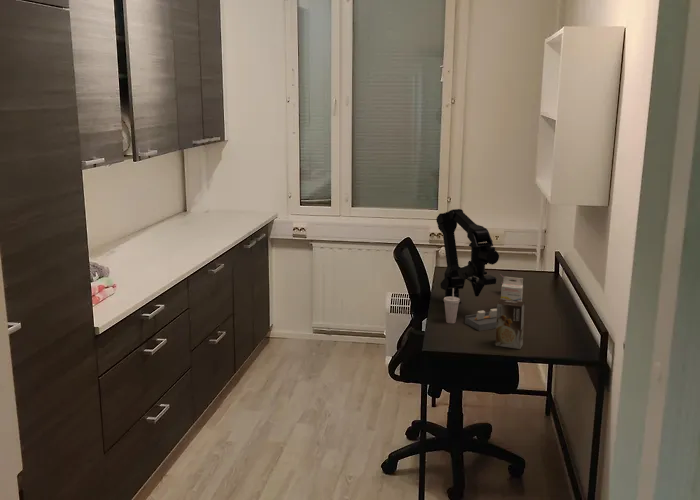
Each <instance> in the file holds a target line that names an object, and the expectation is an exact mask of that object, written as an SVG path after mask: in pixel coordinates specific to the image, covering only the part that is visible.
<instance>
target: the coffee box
mask: <svg viewBox="0 0 700 500" xmlns="http://www.w3.org/2000/svg"><path fill="white" fill-rule="evenodd" d="M525 305H526V303H525V301H522V302H520V301H512V300H503V299H501V298H500V299H499V300H498V302H497V304H496V309H497V321H496V328H495V346H496V347H504V348H511V349H517V350H521V348H522V347H523V345H524V321H525Z"/></svg>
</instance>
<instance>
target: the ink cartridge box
mask: <svg viewBox="0 0 700 500" xmlns="http://www.w3.org/2000/svg"><path fill="white" fill-rule="evenodd" d="M513 280H514V281H513ZM523 281H524V278H523V277H513V276H504V277H502V282H503V284H502V283H501V284H502V285H501V289H500V299H503V300H512V301H520V302H523V292H524V284H523Z"/></svg>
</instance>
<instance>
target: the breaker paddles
mask: <svg viewBox="0 0 700 500" xmlns="http://www.w3.org/2000/svg"><path fill="white" fill-rule="evenodd" d="M485 312H486V311H485V310H483V309H482V310H478V311H476V314H477V315H476V318H475V320H481V319H487V318H493V317H497V308H490V310H489V311H488V312H489V316H485ZM484 316H485V317H484Z"/></svg>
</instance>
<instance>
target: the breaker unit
mask: <svg viewBox="0 0 700 500" xmlns="http://www.w3.org/2000/svg"><path fill="white" fill-rule="evenodd" d="M489 312H490V311H487V312H486V311H485V316H489ZM476 315H477V313H473V314H467V315H465V316H464V324H466V325H468V326H469V327H471V328H473V329H474V330H477V331H479V332H482V331H487V330H488V331H489V330H493V329H496V321H497V317H493V318H487V319H481V320H475V318H476ZM485 316H484V317H485Z"/></svg>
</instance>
